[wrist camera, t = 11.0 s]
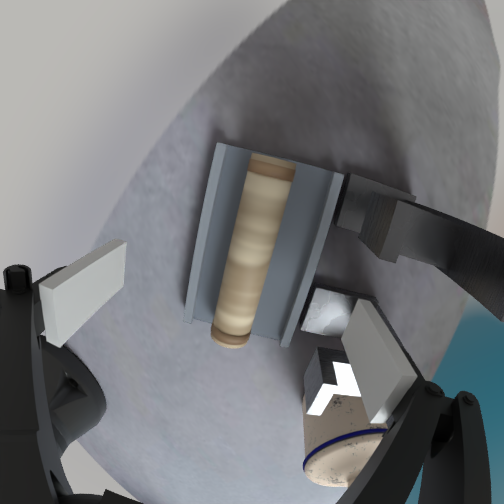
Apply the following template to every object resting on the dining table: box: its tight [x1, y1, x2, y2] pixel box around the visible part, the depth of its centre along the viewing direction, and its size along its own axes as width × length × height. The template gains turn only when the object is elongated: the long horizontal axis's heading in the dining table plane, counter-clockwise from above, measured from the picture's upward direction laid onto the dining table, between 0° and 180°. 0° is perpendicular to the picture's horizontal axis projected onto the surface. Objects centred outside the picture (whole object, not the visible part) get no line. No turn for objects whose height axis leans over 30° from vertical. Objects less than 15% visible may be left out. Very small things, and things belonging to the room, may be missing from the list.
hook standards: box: [300, 173, 504, 428], centre depth 15 cm, size 6×13×14 cm, turn 167°
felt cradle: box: [183, 143, 344, 348], centre depth 22 cm, size 9×14×2 cm, turn 167°
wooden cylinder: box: [211, 153, 297, 348], centre depth 20 cm, size 14×3×3 cm, turn 166°
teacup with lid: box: [302, 394, 388, 488], centre depth 20 cm, size 12×9×12 cm
